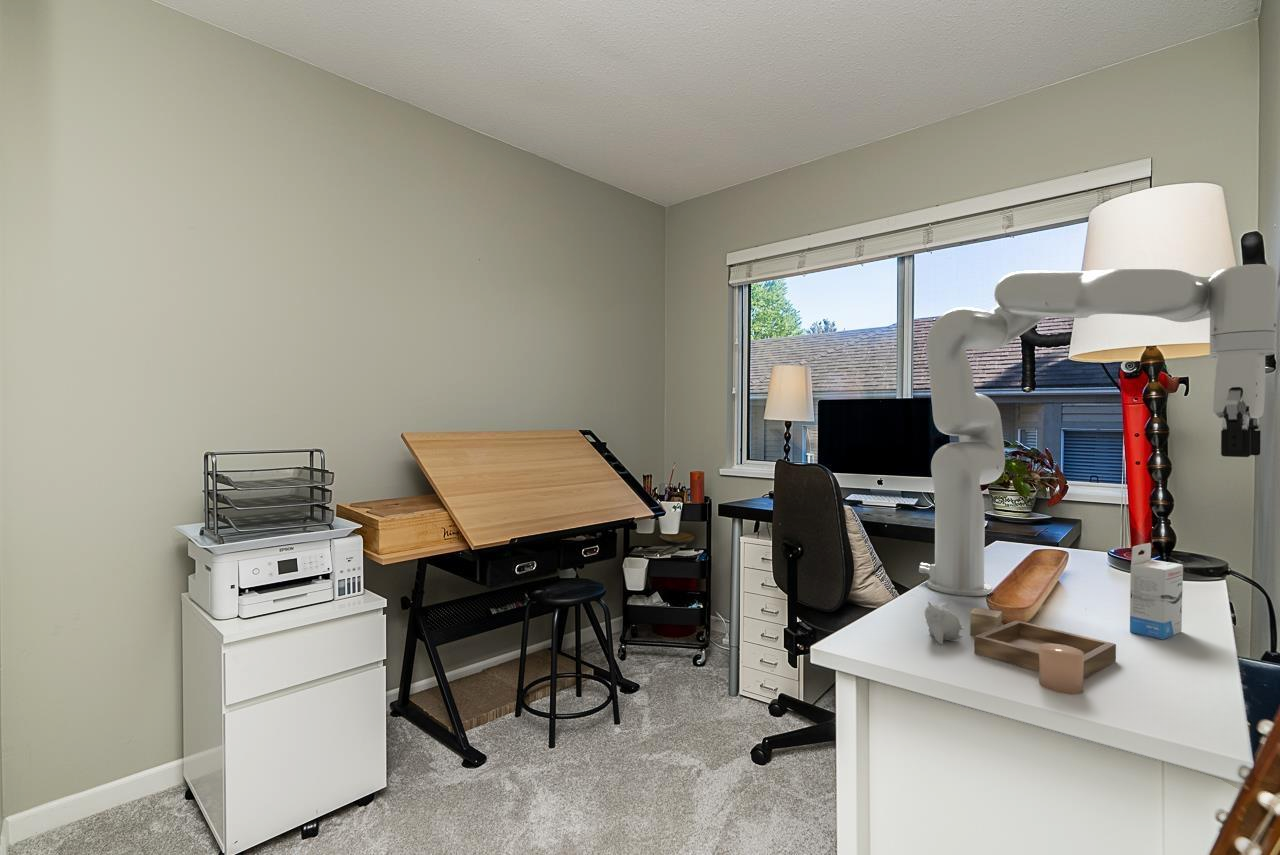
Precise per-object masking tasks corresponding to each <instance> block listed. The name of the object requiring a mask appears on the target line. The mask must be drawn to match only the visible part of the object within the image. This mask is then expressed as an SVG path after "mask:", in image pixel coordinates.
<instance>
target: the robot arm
mask: <svg viewBox="0 0 1280 855" xmlns="http://www.w3.org/2000/svg"><path fill="white" fill-rule="evenodd" d="M1277 279H1278V278H1277V271H1276V270H1275V267H1273V266H1272V265H1270V264H1264V263H1262V264H1261V263H1255V264H1252V263H1250V264H1242V265H1236V266H1230V267H1226V268H1223V269H1220V270H1217V271H1216V272H1214V274H1213V275H1212V276H1198V275H1194V274H1191V273H1188V272H1186V271H1183V270H1176V269H1169V268H1168V269H1166V268H1165V269H1164V268H1161V269H1159V268H1130V269H1129V268H1128V269H1124V268H1123V269H1121V268H1120V269H1118V268H1117V269H1106V270H1103V269H1102V270H1081V271H1080V270H1078V271H1076V270H1074V271H1072V270H1071V271H1070V270H1066V271H1062V270H1061V271H1060V270H1051V271H1050V270H1038V271H1037V270H1023V271H1020V270H1019V271H1016V272H1011V273H1008V274H1007V275H1005V276H1003V277H1002V278H1001V279H1000V280H999V281H998V283H997V284H996V286H995V289H994V294H993V296H994V300H995V303H996V306H994V308H992V309H991V310H990V311H988V310H985V309H980V308H975V307H966V306H963V307H956V308H953V309H950V310H949V311H946V312H945V313H943V314H941V315H940V316H939V317H938V318H937V319H936V320H935V321H934V323H933V324H932V325H931V327H930V330H929V331H928V334H927V337H926V341H925V353H926V361H927V368H928V375H929V386H930V389H929V390H930V398H931V399H930V400H931V407H932V408H931V409H932V419H933V424H934V426H935V428H936V429H937V430H938V432H940V433H942V434H944V435H948V436H954V437H955V436H958V440H959V441H953V442H949V443H946V444H944V445H942V446H941V447H939V448H938V449H937V450H936V451H935V453H934V454H933V456H932V457H931V458H932V459H931V462H930V471H931V477H932V484H933V490H934V492H933V493H934V508H935V509H934V516H935V517H934V564H933V563H932V564H930V563H926V562H920V564H919V565H918V566H919V567H918V572H919V573H922V574H928V575H929V578H928V579H926V586H927V587H928V589H931V590H933V591H936V592H940V593H945V594H947V595H956V596H965V597H966V596H967V597H984V596H988V595H987V594H988V593H990V592H991V591H992V592H993V586H992V585H991V584H989V583H987V582H985V542H986V541H985V540H986V539H985V538H986V537H985V534H986V532H985V531H986V529H985V524H986V523H985V522H986V520H985V514H986V513H985V501H984V496H983V492H982V489H981V488H982V487H981V485H988V484H991V483H993V482H996V481H997V480H998V479H999V478H1000V477H1001V476H1002V475H1003V472H1004V470H1005V465H1006V452H1005V451H1006V450H1005V443H1004V435H1003V434H1004V432H1003V424H1002V418H1001V412H1000V410H999V408H998V405H997V404H996V403H995V402H994V400H992V398H990V397H989V396H987V395H985V394H981V393H976V390H975V384H974V373H973V368H972V365H971V362H970V360H969V358H968V356H967V351H968V350H974V351H982V352H992V351H996V350H999V349H1002V348H1003V347H1005V346H1007V345H1008V344H1009V343H1011V342H1013V341H1014V340H1016V339H1017V338H1018V337H1020V336H1022V335H1023V334H1025V333H1027V332H1028V331H1029V330H1031V329H1032V328H1034V327H1035V326H1037V325H1038V324H1039V323H1041V322H1043V321H1044V320H1045V319H1046V318H1048V317H1054V318H1055V317H1056V318H1073V319H1086V318H1088V317H1090V316H1093V315H1108V314H1109V315H1130V316H1131V315H1132V316H1145V317H1146V316H1148V317H1157V318H1162V319H1165V320H1167V321H1171V322H1177V323H1190V322H1195V321H1200V320H1205V319H1209V358H1211V359H1212V358H1213V359H1214V358H1215V359H1216V360H1215V361H1216V362H1215V370H1214V382H1213V383H1214V385H1213V401H1212V416H1213V417H1215V418H1217V419H1222V425H1221V427H1222V428H1221V429H1222V430H1220V435H1221V436H1220V439H1221V440H1220V455H1221V456H1222V457H1228V458H1229V457H1231V458H1232V457H1234V458H1249V457H1251V456H1260V455H1261V436H1262V435H1261V434H1262V433H1261V430H1260V419H1259V418H1261V417H1263V416H1264V410H1265V400H1266V399H1265V397H1266V396H1265V395H1266V356H1272V355H1276V354H1277Z"/></svg>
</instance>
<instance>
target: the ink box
mask: <svg viewBox="0 0 1280 855" xmlns="http://www.w3.org/2000/svg"><path fill="white" fill-rule="evenodd" d="M1141 551H1142V552H1143V553H1142V554H1139V553H1140V552H1141ZM1151 553H1152V543H1151V542H1148V543H1141V544H1138V545H1134V546H1132V549H1131V560H1130V561H1131V562H1130V563H1131V564H1130V592H1129V593H1130V595H1129V596H1130V597H1129V602H1130V603H1129V632H1130V633H1133V634H1138V635H1141V636H1146V637H1149V638H1154V639H1159V640H1166V639H1168V638H1171V637H1173V636H1174V635H1177V634H1179V633H1181V632H1182V629H1183V628H1182V624H1183V622H1182V621H1183V580H1184V578H1183V577H1184V565H1183V564H1181V563H1176V562H1170V561H1168V562H1167V561H1162V560H1155V559H1151V555H1152V554H1151Z"/></svg>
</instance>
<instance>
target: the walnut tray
mask: <svg viewBox="0 0 1280 855" xmlns="http://www.w3.org/2000/svg"><path fill="white" fill-rule="evenodd" d="M973 640H974V650H973V651H974V654H978V655H979V656H984V657H986V658H987V657H988V658H990V659H994V660H998V661H1002V662H1004V663H1008V664H1011V665H1014V666H1018V667H1020V668H1021V667H1022V668H1023V669H1024V668H1025V669H1029V670H1032V671H1035V672H1038V673H1039V645H1041V644H1045V643H1053V644H1061V645H1067V646H1071V647H1074V648H1077V649H1079V650H1081V651H1082V652H1083V653H1084V668H1083V681H1085V680H1086V679H1088V678H1090V677H1092V676H1093V675H1095V674H1096V673H1098V672H1100V671H1102V670H1103V669H1105V668H1107V667H1108V666H1110V665H1112V664H1114V663H1115V662H1116V661H1117V644H1116V643H1113V642H1110V641H1109V642H1108V641H1107V640H1106V641H1104V640H1101V639H1097V638H1093V637H1088V636H1084V635H1080V634H1077V633H1076V634H1075V633H1072V632H1067V631H1064V630H1060V629H1055V628H1051V627H1046V626H1042V625H1038V624H1033V623H1029V622H1026V621H1021V620H1017V619H1016V620H1013V621H1011V622H1008V623H1005V624H1002V626H1000V627H997V628H994V629H992V630H989V631H987V632H984V633H981V634H979V635H976V636H975V637H974V639H973Z"/></svg>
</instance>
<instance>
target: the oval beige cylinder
mask: <svg viewBox="0 0 1280 855" xmlns="http://www.w3.org/2000/svg"><path fill="white" fill-rule="evenodd" d="M1083 668H1084V653H1083V652H1082V651H1081V650H1079V649H1077V648H1074V647H1071V646H1067V645H1061V644H1053V643H1045V644H1041V645H1039V672H1038V684H1039V685H1040V687H1043V688H1045V689H1047V690H1050V691H1052V692H1056V693H1059V694H1065V695H1079V694H1082V693H1084V680H1083Z"/></svg>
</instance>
